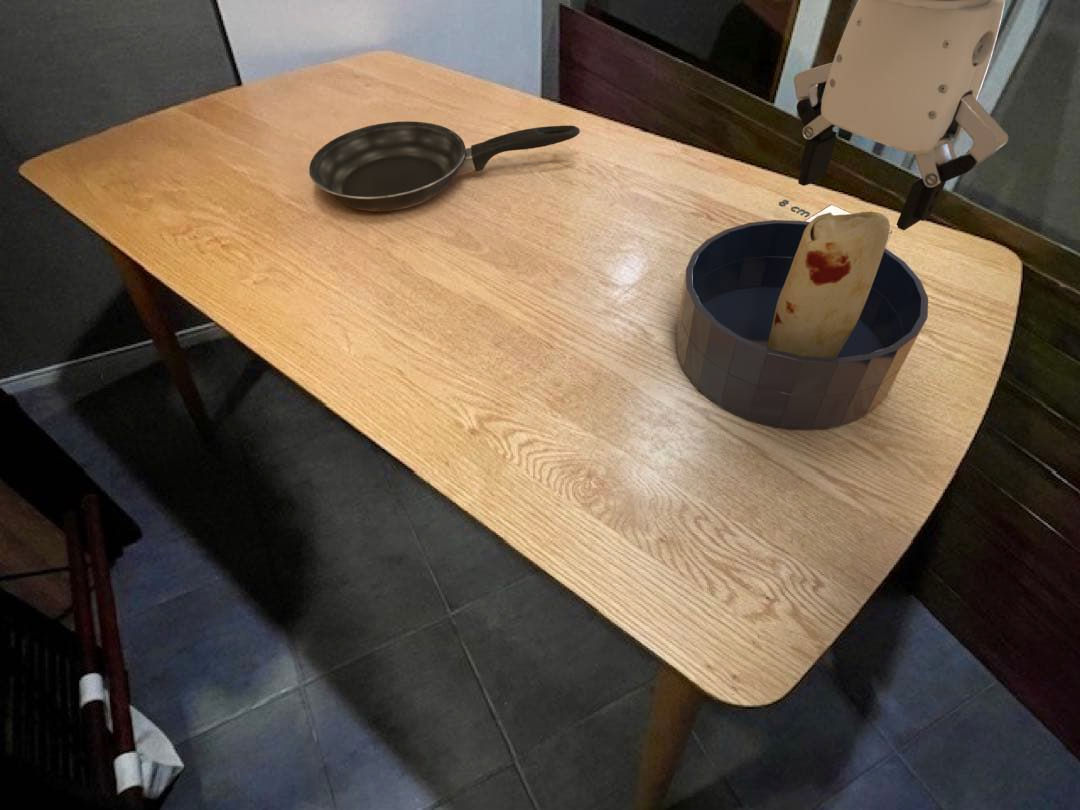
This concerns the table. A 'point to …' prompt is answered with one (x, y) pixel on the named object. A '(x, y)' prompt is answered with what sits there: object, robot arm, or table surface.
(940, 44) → the robot arm
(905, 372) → the table surface
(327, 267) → the table surface
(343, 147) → the frying pan
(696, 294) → the pot
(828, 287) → the food model
